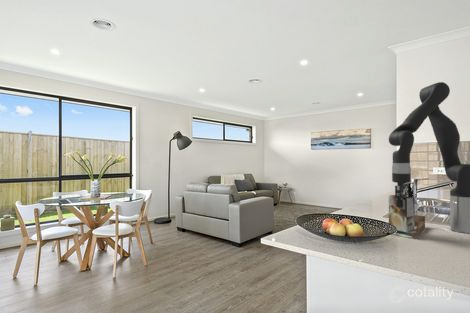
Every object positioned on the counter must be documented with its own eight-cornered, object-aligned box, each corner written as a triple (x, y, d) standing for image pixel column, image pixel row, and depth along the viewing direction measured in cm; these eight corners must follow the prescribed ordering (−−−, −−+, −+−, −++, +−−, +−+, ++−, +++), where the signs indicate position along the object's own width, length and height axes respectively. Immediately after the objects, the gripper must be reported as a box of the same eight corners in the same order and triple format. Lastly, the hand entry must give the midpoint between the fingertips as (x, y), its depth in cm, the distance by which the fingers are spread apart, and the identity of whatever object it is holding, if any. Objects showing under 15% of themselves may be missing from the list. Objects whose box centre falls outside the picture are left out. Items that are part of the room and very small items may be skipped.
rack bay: (425, 227, 133) (425, 215, 133) (416, 239, 113) (416, 225, 113) (395, 223, 142) (395, 212, 142) (382, 233, 122) (382, 220, 122)
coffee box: (415, 231, 119) (415, 197, 119) (407, 233, 117) (407, 198, 117) (396, 226, 128) (396, 194, 128) (387, 228, 125) (387, 195, 125)
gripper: (407, 173, 115) (407, 209, 114) (413, 172, 125) (413, 205, 125) (388, 172, 120) (388, 207, 120) (395, 171, 130) (395, 203, 130)
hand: (401, 206), depth 122 cm, fingers closed on coffee box, 8 cm apart
